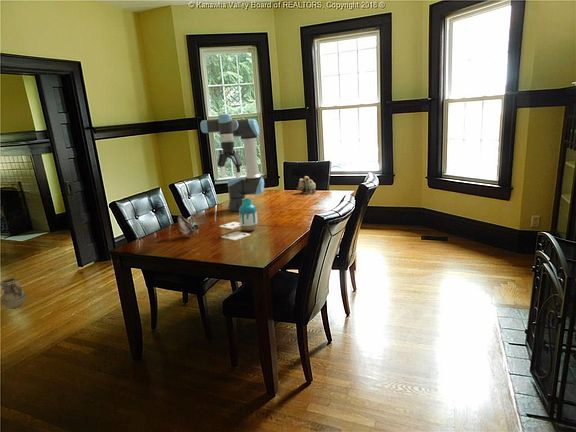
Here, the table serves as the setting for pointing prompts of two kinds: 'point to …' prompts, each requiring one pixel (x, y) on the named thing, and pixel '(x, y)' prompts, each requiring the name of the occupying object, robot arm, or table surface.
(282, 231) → the table surface
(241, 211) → the vase
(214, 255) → the table surface
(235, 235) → the two dot mat
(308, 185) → the owl figurine
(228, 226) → the three dot mat
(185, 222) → the decorative duck model
